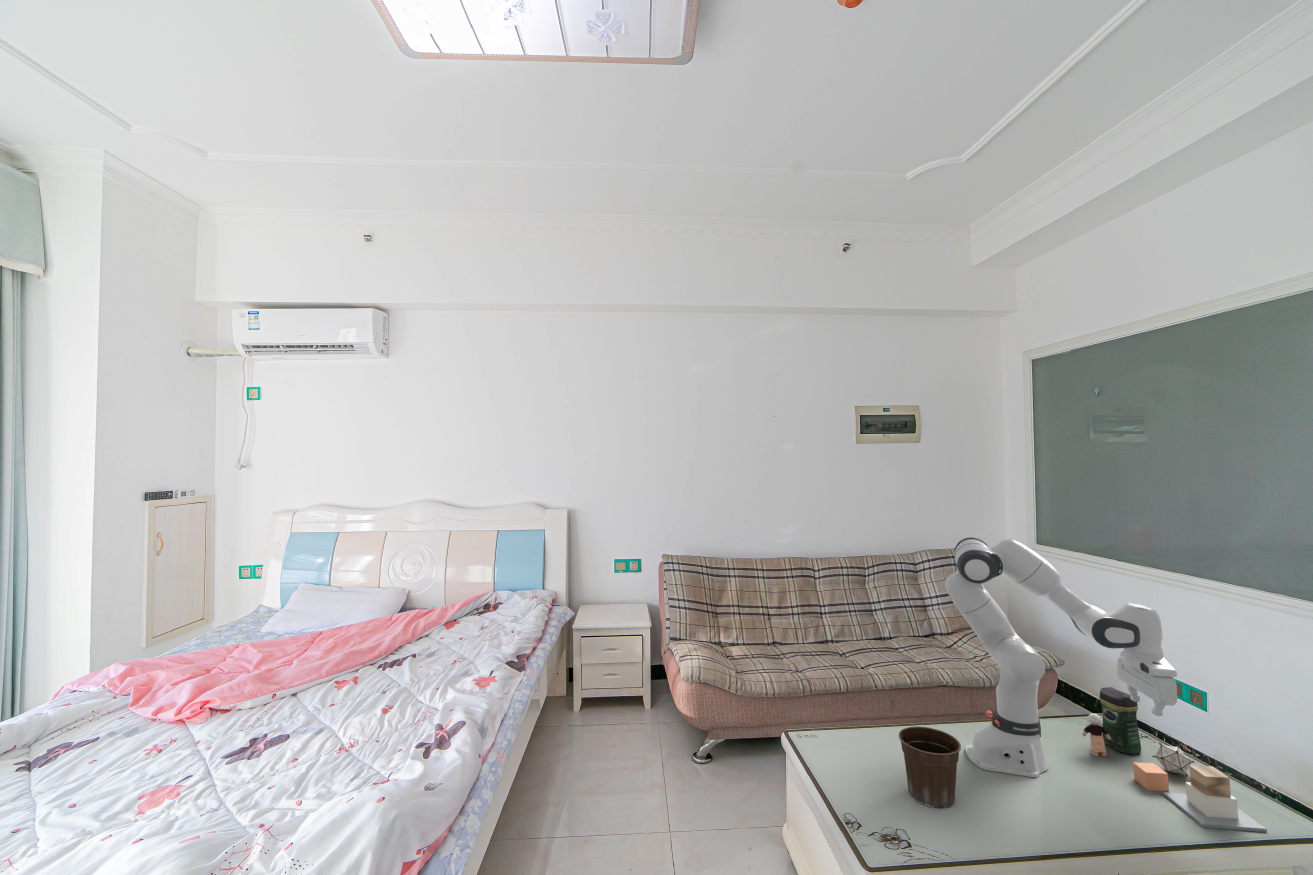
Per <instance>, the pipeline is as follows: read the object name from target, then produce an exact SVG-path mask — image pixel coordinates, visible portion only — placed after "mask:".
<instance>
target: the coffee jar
mask: <svg viewBox="0 0 1313 875" xmlns="http://www.w3.org/2000/svg"><path fill="white" fill-rule="evenodd" d="M1099 701H1100V706H1101V709H1102V711H1101V712H1102V727H1103V728H1104V729H1105V730H1106V731H1107V732H1108V734H1109V736H1110V737H1111V739H1110V740H1109V739H1107V737H1106V735H1105V734H1104V733H1102V735H1103V739H1104V743H1105V746H1107V747H1110V748H1112V749H1114V750H1116V751H1118V752H1120V753H1123V754H1130V755H1137V754H1140V753H1141V752H1142V744H1141V739H1140V733H1139V726H1138V720H1137V713H1138V708H1139V705H1138V702H1134V701H1133V700H1131V699H1130V693H1129V694H1128V693H1126V692H1124V691H1122V690H1119V689H1116V688H1114V687H1113V686H1109V687H1108V686H1106V687H1101V688H1100V690H1099Z"/></svg>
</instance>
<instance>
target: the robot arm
mask: <svg viewBox="0 0 1313 875" xmlns="http://www.w3.org/2000/svg"><path fill="white" fill-rule="evenodd" d="M954 561H955V562H954V563H955V567H956V568H957V569H956V571H954V572H953V573H951V574H949V575H948V576H947V578H946V579H945V580H944V587H945V589H946V592H947V594H948V596H949V598H950V600H951V601H952V602H953V605H954V606H955V608H956V609H957V610H958V612H959V614H961V615H962V617H963V618H964V619H965V621H966V622H967V623H968V625H969V626H970V629H972V630H973V632H974V633H975V635H976V636H977V638H978V640H979V641H980V643H981V644H982V646H983V647H984V649H985V650H986V652H988V654H989V656H990V657H991V658H992V660H994V661H995V662H996V664H998V666H999V669H1000V675H999V676H1000V677H999V681H998V684H997V686H996V688H995V693H996V694H995V695H996V708H997V709H996V710H997V711H996V712H995V713H993V712H992V711H991V710H986V711H985V715H986V716H987V718H988V719H990V720H991V723H989V724H988V725H986V726H985V727H983V728H981V729H979V730H977V731H976V732H975V733H974V735H973V739H972V744H967V745H966V746H965V749H964V751H965V754H966V756H967V758H968V759H969V761H971V763H973V764H974V765H975V766H977V767H978V768H980V769H981V770H985V771H991V772H998V773H1004V774H1010V775H1018V776H1023V777H1031V778H1038V777H1040V774H1042V773H1044V772H1046V771H1047V770H1048V769H1049V766H1048V763H1047V760H1046V757H1045V754H1044V749H1043V745H1042V740H1041V737H1042V726H1041V720H1040V718H1039V710H1038V691H1039V684H1040V680H1041V679H1042V678H1043V677H1044V675H1045V673H1046V664H1045V662H1044V660H1043V659H1042V657H1041V656H1040V654H1039V653H1038V651H1037V650H1036V649H1035V648H1034V647H1032V646H1031V645H1029V644H1028V643H1026V641H1024V639H1022V638H1021V637H1020V636H1019V635H1018V634H1017V632H1016V631H1015V629H1014V627H1013V626H1012V625H1011V622H1010V621H1009V619H1008V617H1007V615H1006V614H1005V613H1004V611H1003V610H1002V608H1001V607H1000V606H999V604H998V603H997V601H996V600H995V599H994V598H993V597H992V595H991V593H990V592H989V591H988V590H987V589H986V588H985V586H984V584H985V583H987V582H989V581H991V580H993V579H995V578H997V577H999V576H1001V575H1002V573H1003V574H1004V575H1007V577H1009V578H1010V579H1011V580H1012V581H1014V582H1015V583H1017V584H1018V585H1019V586H1020V587H1022V588H1023V589H1024V590H1026V591H1028V592H1030V593H1031V594H1033V595H1035V596H1037V597H1043V598H1045V599H1047V600H1049V601H1051V602H1052V603H1053V604H1054V605H1055V606H1057V607H1058V608H1059V609H1060V610H1061V611H1063V612H1064V613H1065V614H1066V615H1067V616H1069V618H1070V619H1071V621H1072V623H1073V625H1074V627H1075V628H1076V629H1077V630H1078V632H1080V633H1081V634H1082V635H1084V636H1086V637H1088V638H1090V639H1091V640H1092V641H1094V642H1095V643H1096V644H1098V645H1100V646H1102V647H1105V648H1108V649H1123V650H1122V651H1120V653H1119V654H1120V655H1119V657H1118V659H1117V662H1116V663H1117V666H1116V675H1117V677H1118V680H1119V681H1121V682H1122V683H1123V682H1124V684H1126V688H1127V690H1128V693H1129V695H1130V699H1131V700H1133V701H1134V702H1137V703H1140V702H1141V697H1140V695H1139V693H1138V692H1140V693H1142V695H1145V696H1146V697H1148V698H1150V699H1152V700H1153V704H1154V706H1153V707H1151V713H1152V714H1153V715H1154V716H1157V717H1163V710H1164V709H1165V707H1166V706H1168V707H1169V706H1176V704H1177V702H1178V688H1177V687H1178V686H1177V683H1176V680H1175V678H1177V676H1178V673H1177V670H1176V669H1175V668H1174V667H1173V666H1172V665H1171V664H1170V662H1168V661H1167V659H1166V658H1165V657H1164V651H1163V648H1162V640H1163V630H1162V629H1163V628H1162V622H1161V619H1160V615H1159V613H1158V612H1157V611H1155V610H1154V609H1153V608H1151V607H1148V606H1145V605H1143V604H1138V603H1132V602H1126V603H1124V605H1121V606H1120V607H1118V608H1116V609H1113V610H1109V611H1106V610H1105V609H1104V608H1102V607H1101V606H1099V605H1098V606H1097V605H1095V604H1092V603H1089V602H1086V601H1084V600H1082V599H1081V597H1079V596H1077V595H1076V594H1075V593H1074V592H1072V591H1071V590H1070V589H1069V588H1067V586H1065V585H1064V584H1063V583H1062V581H1061V579H1062V578H1061V574H1060V573H1059V571H1058V570H1057V569H1056V568H1055V567H1054V566H1053V565H1052V564H1051V563H1050V562H1048V560H1046V559H1045V558H1044V557H1042V556H1041V554H1038V553H1037V552H1036V551H1034V550H1032V549H1031V548H1029V547H1028V546H1026V545H1025V544H1022V543H1021V542H1019V541H1016V540H1014V539H1009V538H1008V539H1004V540H1000V541H999V542H998V543H996V545H994V546H989V545H988V544H987V543H985V542H984V541H983V540H981V539H979V538H977V537H966V538H962V539H961V540H960V541H958V543H957V544H956V545H955V547H954Z"/></svg>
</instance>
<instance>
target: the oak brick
mask: <svg viewBox="0 0 1313 875" xmlns="http://www.w3.org/2000/svg"><path fill="white" fill-rule="evenodd" d="M1188 770H1189V780H1190V782H1191V784H1192V785H1193V786H1194V787H1196V788H1197V789H1198V790H1200V791H1201V792H1202V793H1204V794H1205V795H1207V796H1219V797H1231V783H1230V782H1231V781H1230V777H1229V776H1228V775H1226V774H1224V773H1223V772H1221V771H1220V770H1218V769H1217V768H1216V767H1214V766H1213V765H1212V766H1211V765H1209V766H1208V765H1192V764H1190V765H1189V768H1188Z"/></svg>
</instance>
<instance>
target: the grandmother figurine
mask: <svg viewBox="0 0 1313 875" xmlns="http://www.w3.org/2000/svg"><path fill="white" fill-rule="evenodd" d="M1087 718H1088V721H1089V722H1090V723H1091V724H1089V725H1087V726H1085V728H1083V731H1082V734H1081V735H1082V737H1086V736H1087V735H1088V734H1089V738H1090V739H1089V741H1090V750H1089V752H1090V754H1092V755H1093V756H1099V757H1100V756H1103V757H1108V754H1107V751H1106V744H1105V743H1104V739H1103V733H1104V734H1105V735H1106V737H1107V739H1109V740H1110V739H1111V737H1110V736H1109V734H1108V732H1107V731H1106V730H1105V729H1104V728H1103V725H1100V723H1102V718H1101V717H1100V715H1098V713H1093V712H1092V713H1089V715H1088V716H1087Z"/></svg>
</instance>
